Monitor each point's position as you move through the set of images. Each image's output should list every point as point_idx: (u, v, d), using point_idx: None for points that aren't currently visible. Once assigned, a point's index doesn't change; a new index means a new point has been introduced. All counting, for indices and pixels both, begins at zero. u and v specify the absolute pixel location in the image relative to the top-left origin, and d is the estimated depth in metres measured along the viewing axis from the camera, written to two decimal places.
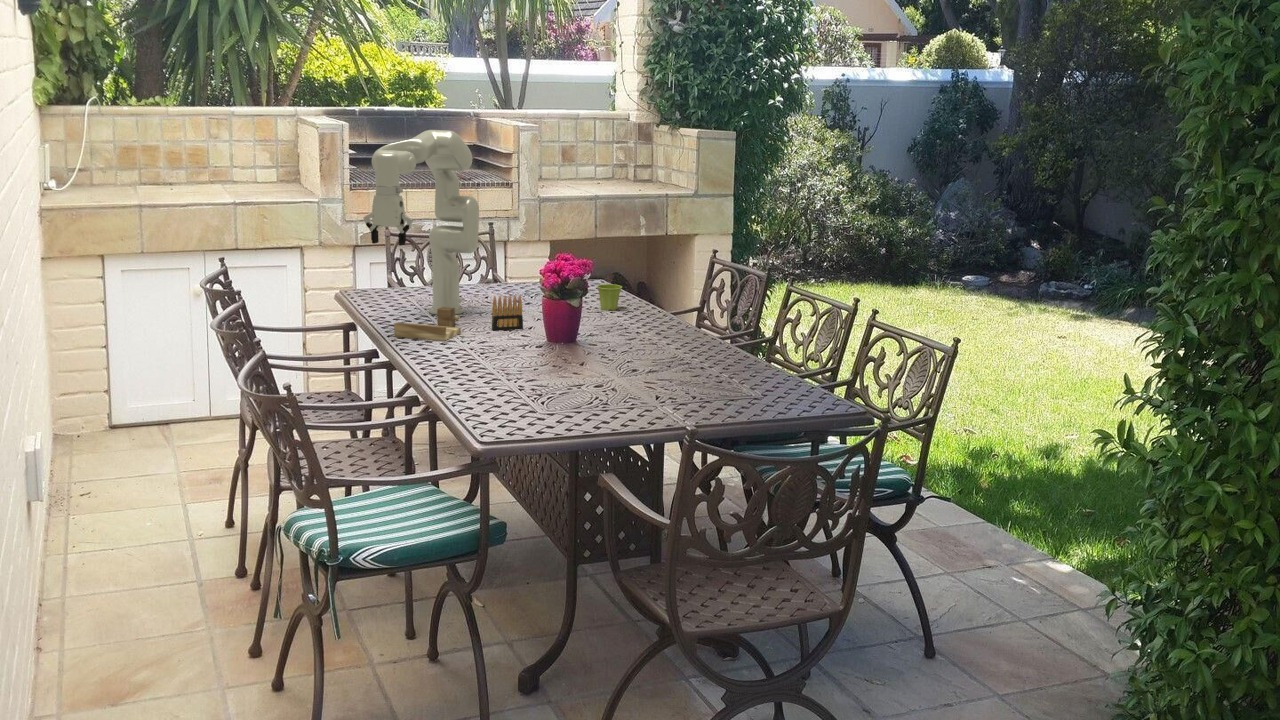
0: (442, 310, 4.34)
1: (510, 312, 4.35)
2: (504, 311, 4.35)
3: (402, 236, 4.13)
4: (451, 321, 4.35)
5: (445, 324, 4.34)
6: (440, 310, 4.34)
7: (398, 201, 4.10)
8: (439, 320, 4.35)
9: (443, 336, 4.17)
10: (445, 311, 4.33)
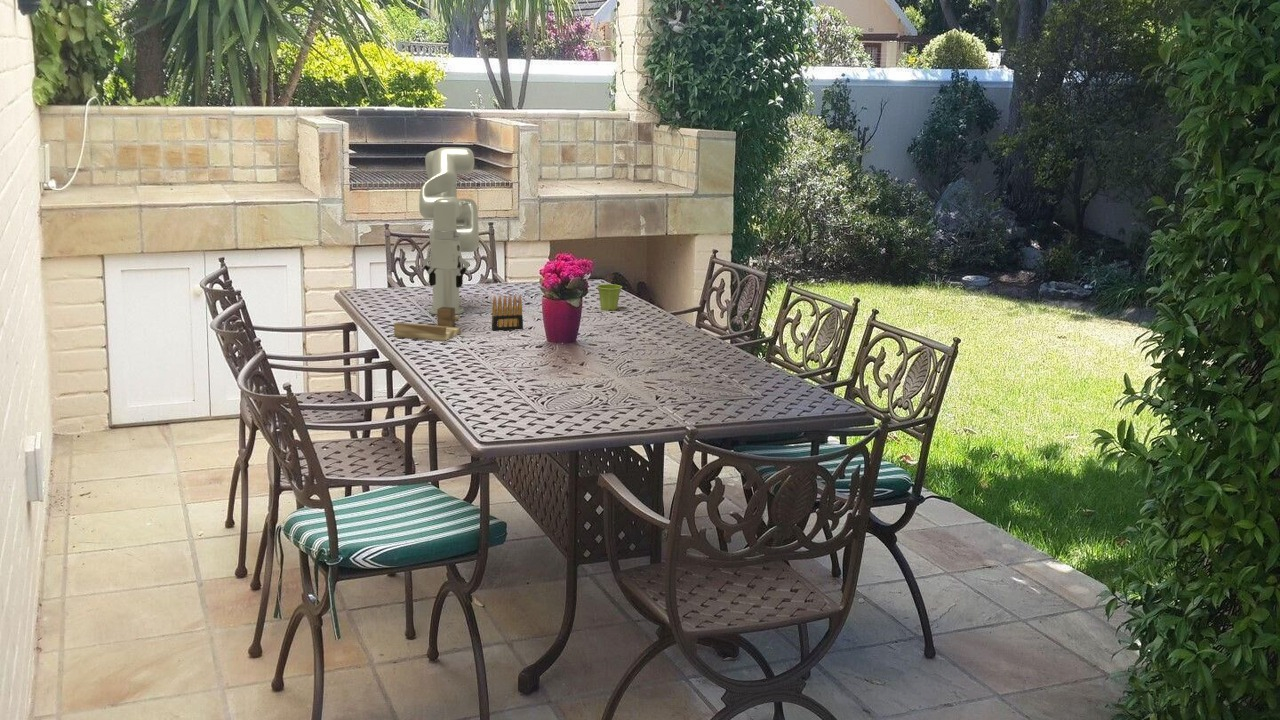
0: (442, 310, 4.34)
1: (510, 312, 4.35)
2: (504, 311, 4.35)
3: (459, 278, 4.30)
4: (451, 321, 4.35)
5: (445, 324, 4.34)
6: (440, 310, 4.34)
7: (456, 245, 4.28)
8: (439, 320, 4.35)
9: (443, 336, 4.17)
10: (445, 311, 4.33)
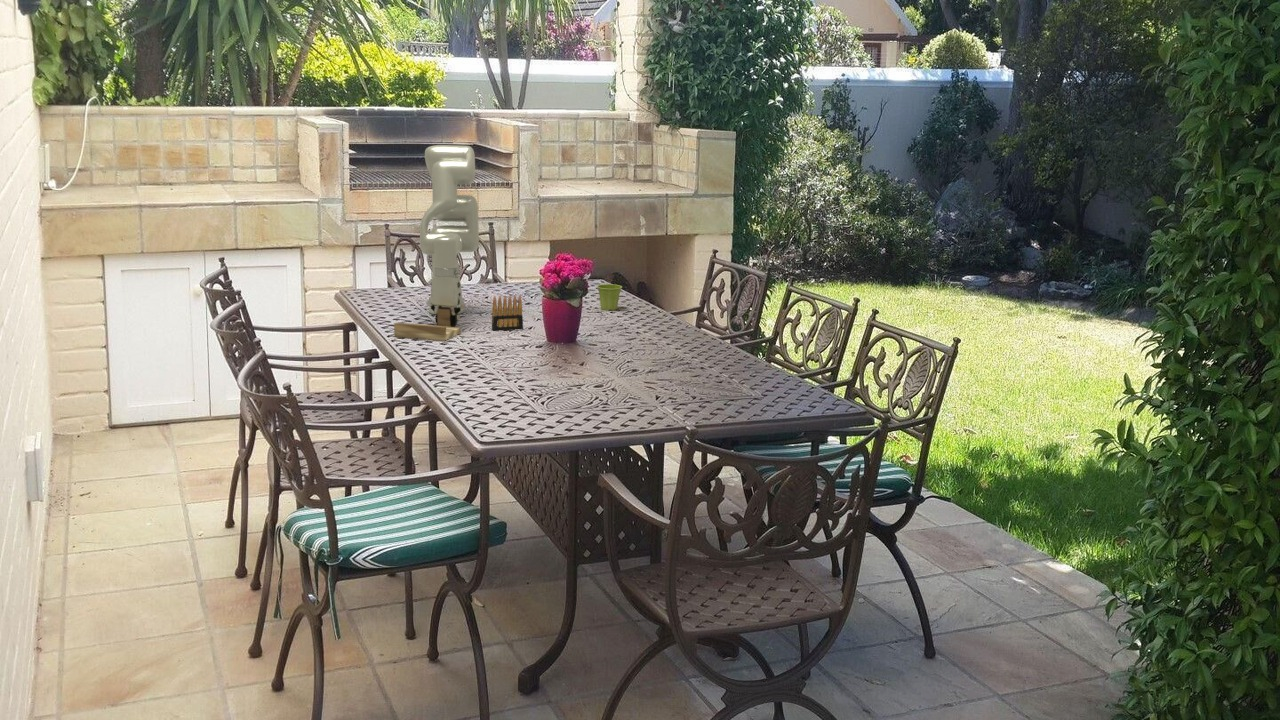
0: (442, 310, 4.33)
1: (510, 312, 4.35)
2: (504, 311, 4.35)
3: (453, 318, 4.34)
4: None
5: (445, 324, 4.34)
6: (440, 310, 4.34)
7: (456, 282, 4.31)
8: (439, 320, 4.35)
9: (443, 336, 4.17)
10: (445, 311, 4.33)
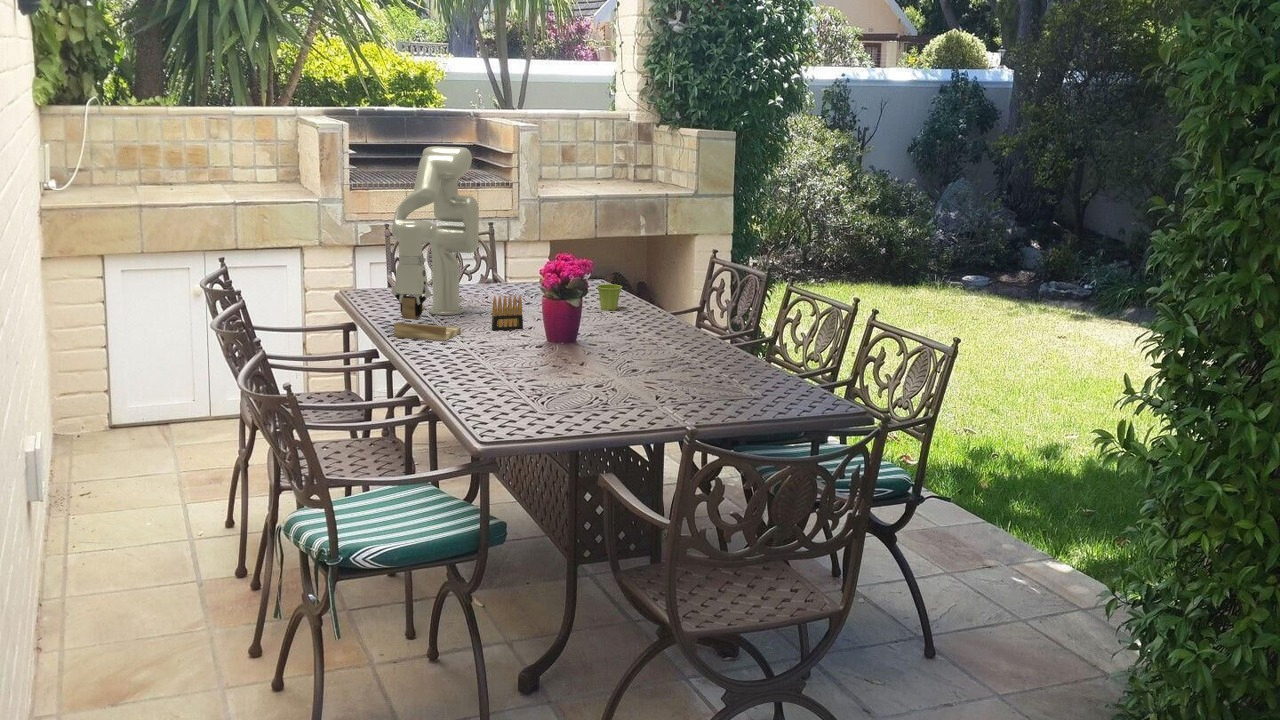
0: (407, 299, 4.23)
1: (510, 312, 4.35)
2: (504, 311, 4.35)
3: (418, 307, 4.24)
4: None
5: (410, 313, 4.23)
6: (405, 299, 4.23)
7: (421, 270, 4.20)
8: (404, 309, 4.24)
9: (443, 336, 4.17)
10: (410, 300, 4.22)
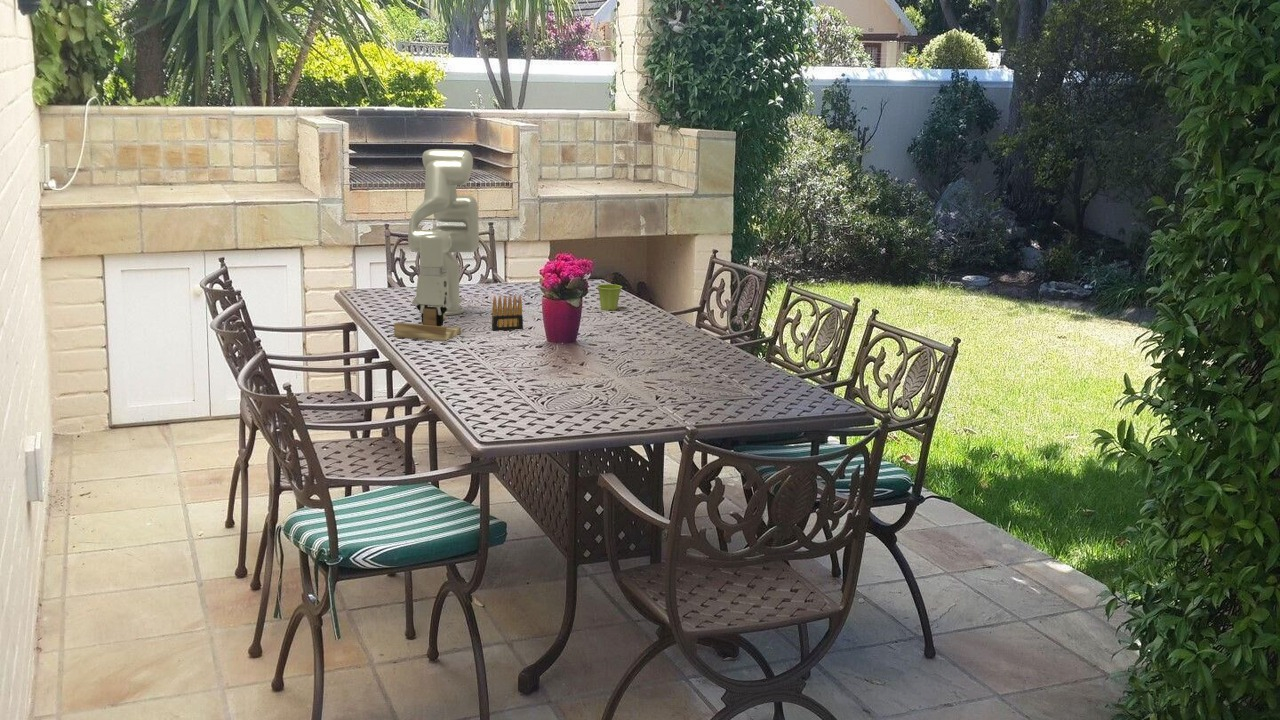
0: (428, 310, 4.22)
1: (510, 312, 4.35)
2: (504, 311, 4.35)
3: (440, 318, 4.23)
4: None
5: (431, 324, 4.22)
6: (426, 310, 4.22)
7: (442, 281, 4.19)
8: (425, 320, 4.23)
9: (443, 336, 4.17)
10: (431, 311, 4.21)
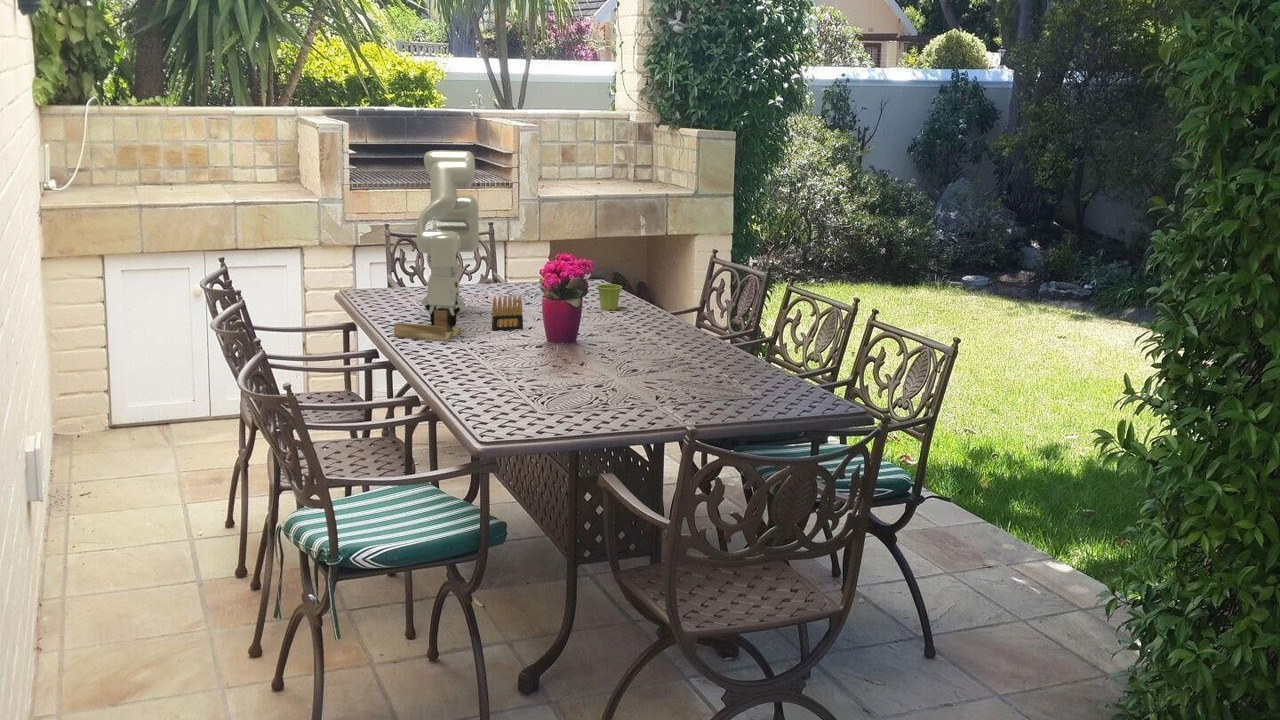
0: (439, 311, 4.20)
1: (510, 312, 4.35)
2: (504, 311, 4.35)
3: (453, 318, 4.21)
4: (448, 322, 4.22)
5: (442, 326, 4.21)
6: (437, 311, 4.21)
7: (453, 282, 4.18)
8: (436, 322, 4.22)
9: (443, 336, 4.17)
10: (442, 312, 4.20)
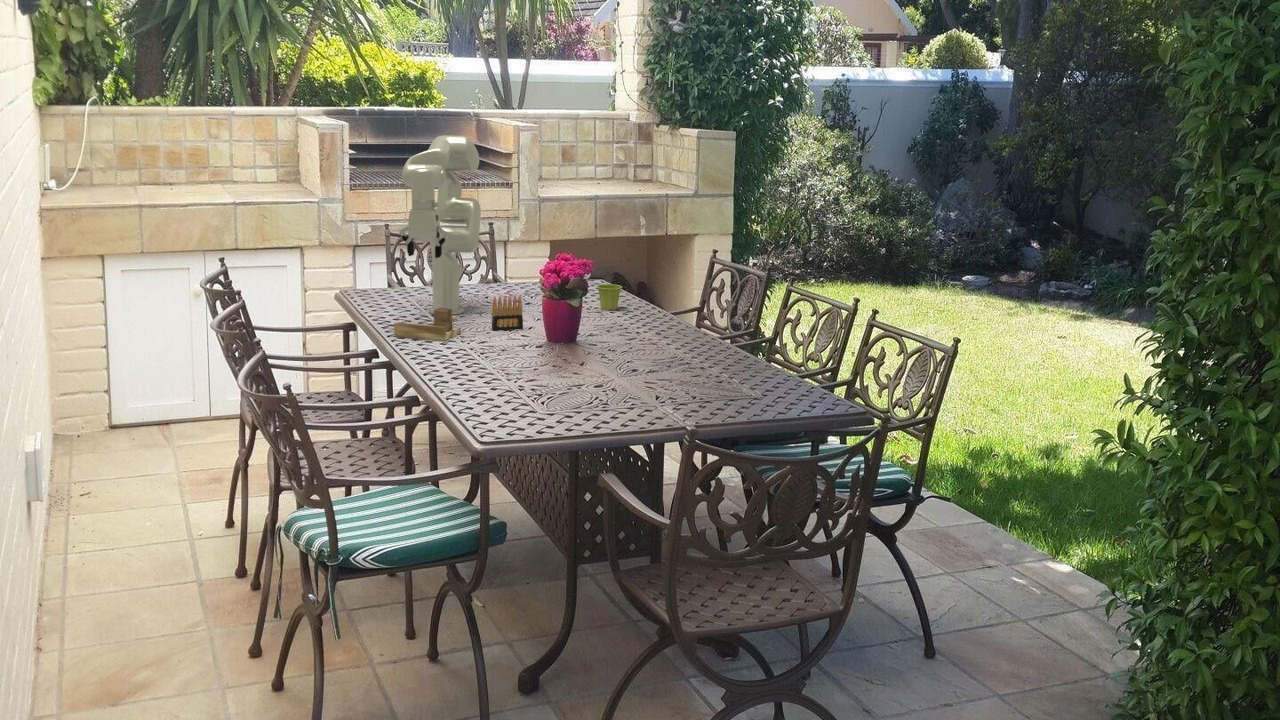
0: (439, 311, 4.20)
1: (510, 312, 4.35)
2: (504, 311, 4.35)
3: (438, 249, 4.24)
4: (448, 322, 4.22)
5: (442, 326, 4.21)
6: (437, 311, 4.21)
7: (434, 215, 4.21)
8: (436, 322, 4.22)
9: (443, 336, 4.17)
10: (442, 312, 4.20)
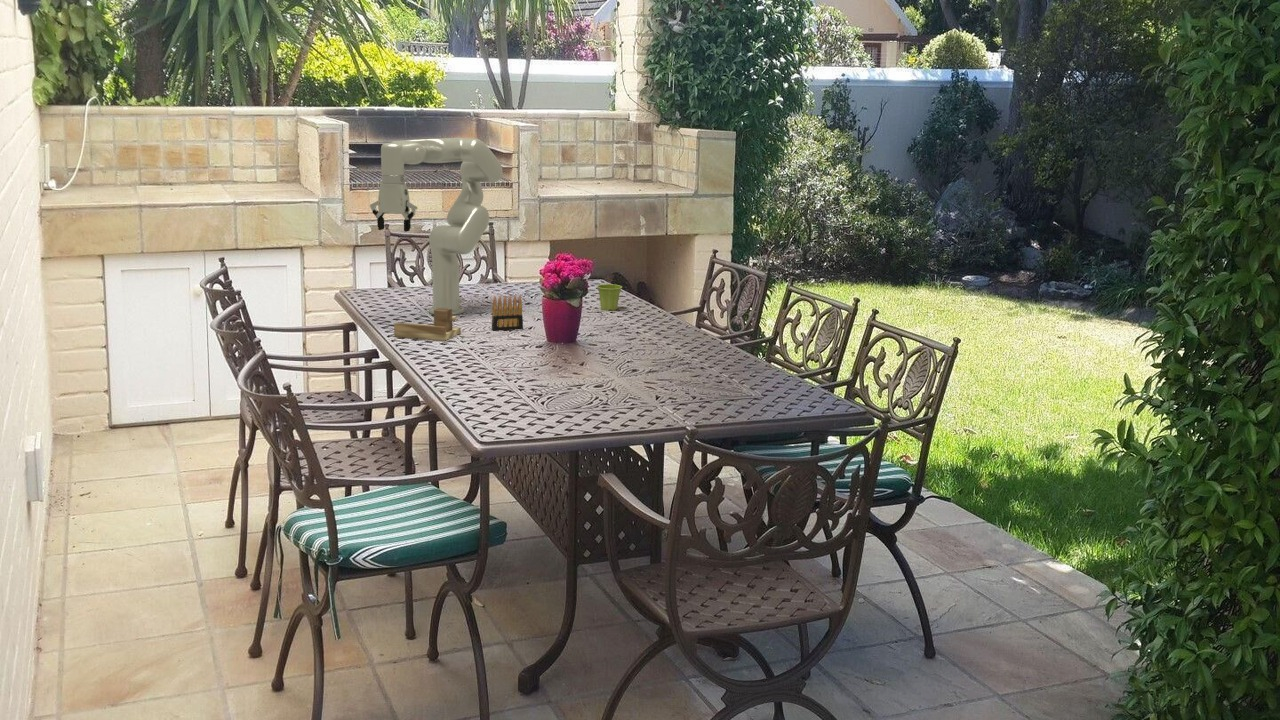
0: (439, 311, 4.20)
1: (510, 312, 4.35)
2: (504, 311, 4.35)
3: (407, 223, 4.34)
4: (448, 322, 4.22)
5: (442, 326, 4.21)
6: (437, 311, 4.21)
7: (403, 189, 4.31)
8: (436, 322, 4.22)
9: (443, 336, 4.17)
10: (442, 312, 4.20)
